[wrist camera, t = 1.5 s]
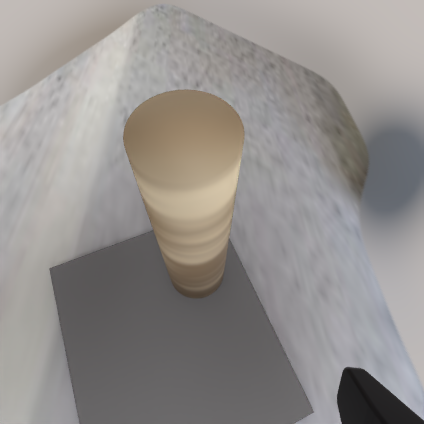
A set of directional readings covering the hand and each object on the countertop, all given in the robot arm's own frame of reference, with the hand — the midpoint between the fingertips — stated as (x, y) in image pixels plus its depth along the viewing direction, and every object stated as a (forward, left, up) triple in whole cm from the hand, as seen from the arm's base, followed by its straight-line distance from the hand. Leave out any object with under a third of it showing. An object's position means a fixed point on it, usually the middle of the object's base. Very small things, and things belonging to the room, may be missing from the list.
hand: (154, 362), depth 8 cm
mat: (+2, 0, -13) cm, 13 cm away
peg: (+5, -3, -12) cm, 14 cm away
